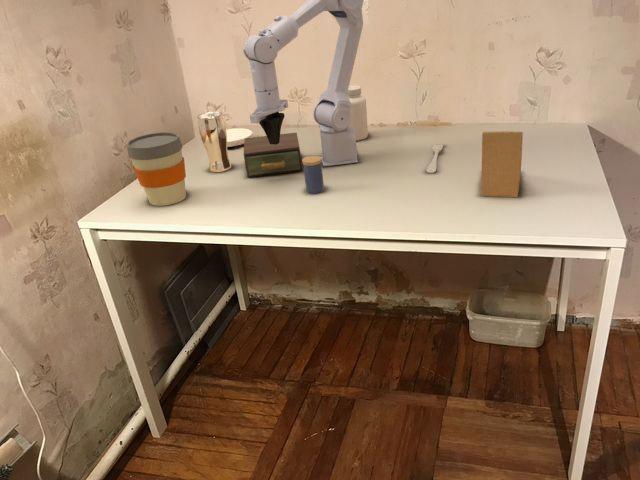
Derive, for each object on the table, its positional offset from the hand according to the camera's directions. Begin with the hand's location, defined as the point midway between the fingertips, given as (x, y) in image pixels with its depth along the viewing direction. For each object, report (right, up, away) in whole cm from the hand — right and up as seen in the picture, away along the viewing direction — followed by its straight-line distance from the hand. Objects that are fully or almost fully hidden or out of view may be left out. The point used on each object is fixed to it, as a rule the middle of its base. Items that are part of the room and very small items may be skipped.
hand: (274, 143), depth 147 cm
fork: (+42, -2, +9) cm, 43 cm away
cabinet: (-2, -3, +13) cm, 14 cm away
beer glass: (-17, -4, +15) cm, 23 cm away
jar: (+11, -12, -4) cm, 17 cm away
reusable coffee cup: (-26, -14, -2) cm, 30 cm away
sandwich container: (+55, -12, -9) cm, 57 cm away
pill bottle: (+20, +8, +30) cm, 37 cm away
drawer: (-1, -4, +10) cm, 11 cm away
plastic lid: (-19, +8, +35) cm, 40 cm away
